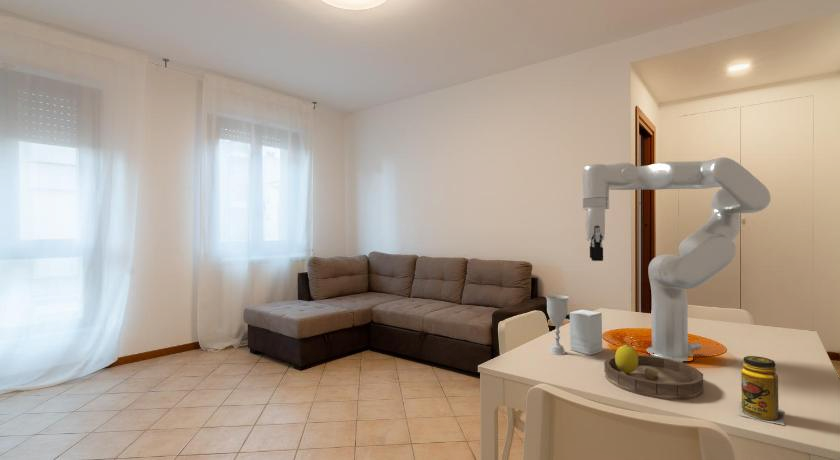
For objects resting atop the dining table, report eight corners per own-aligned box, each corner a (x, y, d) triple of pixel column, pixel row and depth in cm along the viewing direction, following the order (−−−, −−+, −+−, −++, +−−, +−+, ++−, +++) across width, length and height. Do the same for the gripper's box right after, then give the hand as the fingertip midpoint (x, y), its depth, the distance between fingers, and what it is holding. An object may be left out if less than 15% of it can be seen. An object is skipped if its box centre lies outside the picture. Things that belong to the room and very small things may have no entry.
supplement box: (603, 351, 130) (602, 312, 130) (589, 355, 126) (589, 315, 126) (582, 346, 136) (582, 308, 136) (569, 350, 132) (568, 311, 132)
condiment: (738, 415, 86) (737, 359, 85) (739, 402, 92) (739, 350, 92) (784, 426, 81) (784, 367, 81) (782, 411, 87) (782, 356, 87)
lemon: (641, 378, 104) (641, 348, 104) (618, 377, 105) (618, 347, 105) (634, 371, 109) (634, 342, 109) (612, 370, 110) (612, 341, 110)
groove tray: (657, 364, 117) (657, 352, 117) (726, 395, 95) (726, 381, 95) (588, 369, 114) (588, 357, 114) (643, 402, 92) (643, 387, 92)
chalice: (569, 350, 131) (568, 295, 131) (569, 356, 125) (569, 299, 125) (545, 348, 134) (545, 294, 134) (545, 354, 127) (544, 298, 127)
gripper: (581, 206, 134) (582, 257, 134) (583, 203, 118) (584, 261, 118) (606, 205, 132) (606, 257, 132) (611, 202, 115) (612, 262, 115)
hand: (596, 259), depth 125 cm, fingers open, 9 cm apart
